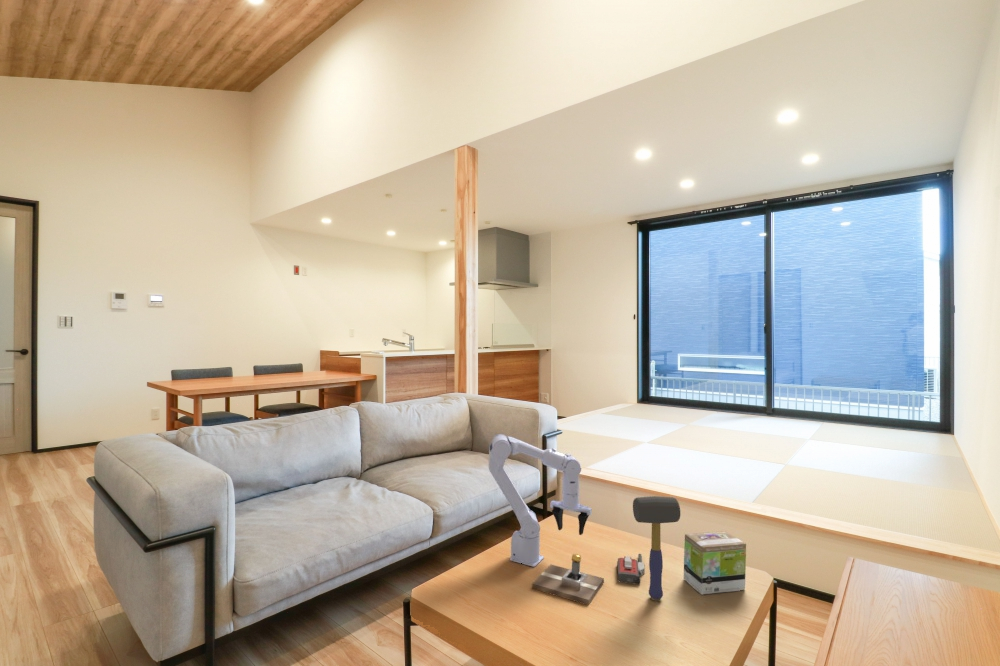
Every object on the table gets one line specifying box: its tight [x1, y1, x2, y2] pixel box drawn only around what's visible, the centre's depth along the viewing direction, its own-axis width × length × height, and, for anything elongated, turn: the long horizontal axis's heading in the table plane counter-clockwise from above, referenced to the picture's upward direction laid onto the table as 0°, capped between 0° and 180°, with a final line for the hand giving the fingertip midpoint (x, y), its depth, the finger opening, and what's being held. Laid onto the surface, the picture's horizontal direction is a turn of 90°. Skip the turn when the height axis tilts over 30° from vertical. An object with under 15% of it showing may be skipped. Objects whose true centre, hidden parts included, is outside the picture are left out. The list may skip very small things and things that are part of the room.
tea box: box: [683, 530, 747, 596], centre depth 151 cm, size 15×10×15 cm, turn 102°
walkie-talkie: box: [616, 553, 646, 585], centre depth 160 cm, size 9×4×20 cm
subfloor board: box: [531, 564, 605, 606], centre depth 150 cm, size 18×14×2 cm
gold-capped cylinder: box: [571, 553, 582, 581], centre depth 150 cm, size 3×3×8 cm
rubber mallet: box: [632, 495, 681, 602], centre depth 143 cm, size 12×8×30 cm, turn 91°
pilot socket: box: [562, 569, 588, 590], centre depth 149 cm, size 6×6×2 cm
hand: (570, 531), depth 168 cm, fingers open, 7 cm apart
